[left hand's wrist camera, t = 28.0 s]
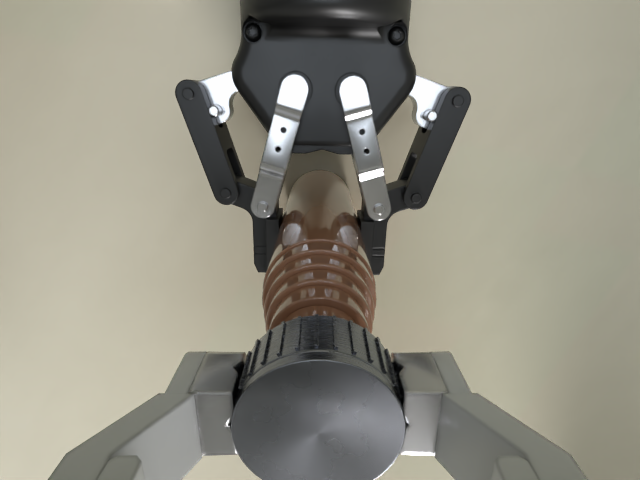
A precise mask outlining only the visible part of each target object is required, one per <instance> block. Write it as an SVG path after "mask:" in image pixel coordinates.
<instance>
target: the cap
mask: <svg viewBox="0 0 640 480" xmlns="http://www.w3.org/2000/svg"><path fill="white" fill-rule="evenodd" d="M238 389H239V390H238V393H237V397H236V400H235V402H236V403H235V407H234V411H233V415H232V420H231V434H232V439H233V443H234V446H235V448H236V451H237V453H238V455H239V456H240V458H241V460H242V461H243V462H244V464H245V465H246V466H247V467H248V468H249V469H250V470H251V471H252V472H253V473H254V474H255V475H256V476H258V477H259V478H261V479H262V480H375V479H377V478H378V477H379V476H381V475H382V474H383V473H384V472H385V471H386V470H388V469H389V467H390V466H391V465H392V464H393V463H394V461H395V460H396V458H397V457H398V455H399V453H400V451H401V449H402V447H403V443H404V439H405V434H406V419H405V415H404V410H403V407H402V403H401V399H402V397H401V393H400V390H399V386H398V377H397V374H396V372H395V371H394V367H393V364H392V362H391V358H390V355H389V351H388V349H384V347H383V345H382V344H381V343H380V339H379V338H378V337H377V338H376V337H374V336H373V335H372V334H371V333H370V332H369V331H368V329H367V328H366V327H364V328H363V327H361V326H359V325H357V324H355V323H353V321H352V320H349V321H348V320H345V319H342V318H338V317H336V316H334V315H333V316H325V315H319V314H315V315H313V316H304V317H301V316H298V318H295V319H292V320H289V321H286V322H285V321H283V322H281V324H280V325H278V326H276V327H275V328H273V329H271V330H270V329H269V330H267V333H266V334H265V335H264V336H263V337H262V338H261V339H260V340H258V339H257V340H256V342H255V346H254V348H253V349H252V351H251V352H250V351H249V352H248V354H247V357H246V361H245V364H244V368H243V372H242V375H241V376H240V379H239V386H238Z"/></svg>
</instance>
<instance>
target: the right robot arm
mask: <svg viewBox="0 0 640 480" xmlns="http://www.w3.org/2000/svg"><path fill="white" fill-rule="evenodd" d="M240 6H241V43H240V47H239V50H238V53H237V55H236V57H235V59H234V61H233V65H232V71H229V72H226V73H223V74H220V75H216V76H213V77H210V78H207V79H204V80H201V81H197V80H183V81H181V82H179V83H178V85H177V86H176V90H175V95H176V98H177V101H178V103H179V106H180V109H181V111H182V114H183V116H184V119H185V121H186V124H187V127H188V129H189V132H190V134H191V137H192V140H193V142H194V145H195V147H196V150H197V152H198V155H199V158H200V160H201V163H202V165H203V168H204V171H205V173H206V176H207V178H208V181H209V183H210V186H211V189H212V191H213V194H214V196H215V198H216V200H217V201H218V202H219V203H221V204H224V205H230V204H233V205H236V206H238V207H241V208H243V209H245V210H247V211H248V212H249V213H250V215H251V217H252V219H253V240H254V264H255V266H256V268H257V270H258V272H266V271H267V268H268V264H269V261H270V258H271V254H272V251H273V248H274V244H275V241H276V238H277V235H278V231H279V228H280V225H281V221H282V218H283V208H279V197H280V193H281V190H282V187H283V183H284V180H285V176H286V173H287V169H288V166H289V163H290V160H291V156H292V153H309V152H313V151H317V150H326V151H330V152H333V153H336V154H351V156H352V160H353V164H354V168H355V171H356V175H357V179H358V184H359V188H360V192H361V196H362V209H361V210H357V220H358V224H359V227H360V230H361V234H362V237H363V241H364V244H365V248H366V251H367V255H368V258H369V261H370V265H371V268H372V272H373V275H379V274H380V272H381V270H382V268H383V266H384V254H385V241H386V229H387V222H388V220H389V218H390V217H391V216H392V215H393V214H394V213H396V212H398V211H402V210H405V209H408V208H410V209H414V210H416V209H420V208H422V207H423V206H424V205H425V204H426V203H427V201H428V199H429V196H430V194H431V192H432V190H433V187H434V185H435V183H436V180H437V178H438V176H439V174H440V171H441V169H442V167H443V165H444V162H445V160H446V158H447V155H448V153H449V151H450V149H451V146H452V144H453V142H454V140H455V137H456V135H457V133H458V131H459V128H460V126H461V124H462V121H463V119H464V117H465V115H466V112H467V110H468V108H469V106H470V102H471V96H470V93H469V92H468V90H467V89H465V88H463V87H456V86H451V87H447V86H444V85H441V84H439V83H436V82H433V81H431V80H428V79H425V78H423V77H420V76H417V75H416V69H415V65H414V63H413V61H412V58H411V55H410V52H409V46H408V33H409V21H410V9H411V0H240ZM238 92H239V93H240V94H241V96H242V97H243V98H244V100H245V101H246V103H247V104H248V105H249V107H250V108H251V110H252V111H253V112H254V114H255V115H256V117H257V118H258V119H259V121H260V122H261V124H262V125H263V126H264V128H265V129H266V131H267V132H268V133H269V134H268V138H267V141H266V145H265V149H264V153H263V156H262V160H261V164H260V171H259V175H258V179H257V182H256V181H254V180H251V179H248V178H246V177H245V176H244V173H243V170H242V167H241V164H240V162H239V159H238V156H237V153H236V150H235V147H234V145H233V142H232V139H231V136H230V133H229V131H228V128H227V125H226V121H228V120H230V119H231V118H232V116H233V113H234V108H233V99H234V96H235V95H236V94H237V93H238ZM407 97H410V99H411V100H412V102H413V111H412V119H413V121H414V123H415V124H416V125H418V126H419V129H418V131H417V133H416V136H415V138H414V141H413V143H412V146H411V148H410V151H409V153H408V156H407V158H406V161H405V163H404V165H403V168H402V170H401V173H400V175H399V178H398V180H397V181H395V182H392V183H389V184H386V181H385V177H384V167H383V162H382V158H381V153H380V149H379V144H378V139H377V135H378V133H379V132H380V131H381V130H382V128H383V127H384V126H385V124H386V123H387V122H388V121H389V119H390V118H391V117H392V116H393V114H394V113H395V112H396V111H397V109H398V108H399V107H400V105H401V104H402V103H403V102H404V100H405V99H406V98H407Z"/></svg>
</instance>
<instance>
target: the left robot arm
mask: <svg viewBox="0 0 640 480" xmlns="http://www.w3.org/2000/svg"><path fill="white" fill-rule="evenodd" d="M246 357H247V355H246V353H245V352H188V353H186V354H185V355H184V357H183V359H182V361H181V363H180V365H179V367H178V369H177V371H176V373H175V374H174V376H173V378H172V380H171V382H170V384H169V386H168V388H167V390H166V392H165V393H159V394H157V395H156V396H154V397H153V398H151V399H150V400H148V401H147V402H145V403H143V404H142V405H140V406H139V407H137V408H136V409H134V410H133V411H131V412H130V413H128V414H127V415H125V416H123V417H122V418H120V419H119V420H117V421H116V422H114V423H113V424H111V425H110V426H108V427H107V428H105V429H103V430H102V431H100V432H99V433H97V434H96V435H94V436H93V437H91V438H90V439H88V440H87V441H85V442H83V443H82V444H80V445H79V446H77V447H76V448H74V449H73V450H71V451H70V452H68V453H67V454H66V455H65V456H64V457H63V459H62V460H61V462H60V463H59V465H58V466H57V467H56V469H55V470H54V472H53V473H52V474H51V476H50V477H49V479H48V480H182V479H183V478H184V477H185V476H186V474H187V473H188V472H189V471H190V470H191V469H192V468H193V467H194V466H195V465H196V464H197V463H198V462H199V460H200V459H201V458H202V456H205V455H238V453H237V451H236V448H235V446H234V443H233V439H232V434H231V420H232V415H233V411H234V407H235V403H236V402H235V400H236V397H237V393H238V390H239V389H238V386H239V379H240V376H241V375H242V372H243V368H244V364H245V361H246ZM390 358H391V362H392V364H393V367H394V371H395V372H396V374H397V377H398V386H399V390H400V393H401V397H402V399H401V403H402V407H403V410H404V415H405V419H406V434H405V439H404V443H403V447H402V449H401V451H400V453H399V455H432V456H435V458H436V459H437V460H438V461H439V463H440V464H441V465H442V466H443V467H444V468H445V469H446V470H447V471H448V472H449V473H450V475H451V476H452V477H453V478H454V479H455V480H588V479H587V478H586V476H585V475H584V473H583V472H582V470H581V469H580V468H579V466H578V465H577V463H576V462H575V460H574V459H573V457H572V456H571V455H570V454H569V453H567V452H566V451H564V450H563V449H561V448H560V447H558V446H557V445H555V444H554V443H552V442H551V441H549V440H548V439H546V438H545V437H543V436H542V435H540V434H539V433H537V432H536V431H534V430H533V429H531V428H529V427H528V426H526V425H525V424H523V423H522V422H520V421H519V420H517V419H516V418H514V417H513V416H511V415H510V414H508V413H507V412H505V411H504V410H502V409H501V408H499V407H498V406H496V405H495V404H493V403H491V402H490V401H488V400H487V399H485V398H484V397H482V396H481V395H479V394H478V393H472V392H471V391H470V389H469V387H468V385H467V383H466V381H465V379H464V377H463V375H462V373H461V371H460V369H459V367H458V365H457V363H456V361H455V360H454V358H453V356H452V354H451V353H450V352H449V351H444V352H427V353H391V357H390Z"/></svg>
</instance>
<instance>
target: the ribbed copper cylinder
mask: <svg viewBox="0 0 640 480" xmlns="http://www.w3.org/2000/svg"><path fill="white" fill-rule="evenodd" d="M375 290H376V288H375V280H374V275H373V272H372V268H371V265H370V261H369V258H368V255H367V251H366V248H365V244H364V241H363V237H362V234H361V230H360V227H359V224H358V220H357V217H356V213H355V210H354V206H353V203H352V199H351V196H350V193H349V190H348V187H347V185H346V184H345V182H344V181H343V180H342V179H341V178H340V177H339V176H338V175H336V174H334V173H332V172H330V171H326V170H314V171H310V172H307V173H305V174H304V175H302V176H301V177H299V178H298V179H297V181H296V182H295V183H294V185H293V187H292V189H291V192H290V195H289V198H288V202H287V205H286V208H285V211H284V215H283V218H282V221H281V225H280V228H279V231H278V235H277V238H276V241H275V244H274V248H273V251H272V254H271V258H270V261H269V264H268V268H267V271H266V274H265V278H264V284H263V296H262V303H263V310H264V318H265V323H266V333H267V330H269V329H270V330H271V329H273V328H275V327H276V326H278V325H280V324H281V322H283V321H285V322H286V321H289V320H292V319H295V318H298V316H301V317H304V316H313V315H315V314H319V315H325V316H333V315H334V316H336V317H338V318H342V319H345V320H348V321H349V320H352V321H353V323H355V324H357V325H359V326H361V327H363V328H364V327H366V328H367V329H368V331H369V332H370V333H371V334H372V329H373V321H374V313H375V307H376V292H375Z"/></svg>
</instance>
